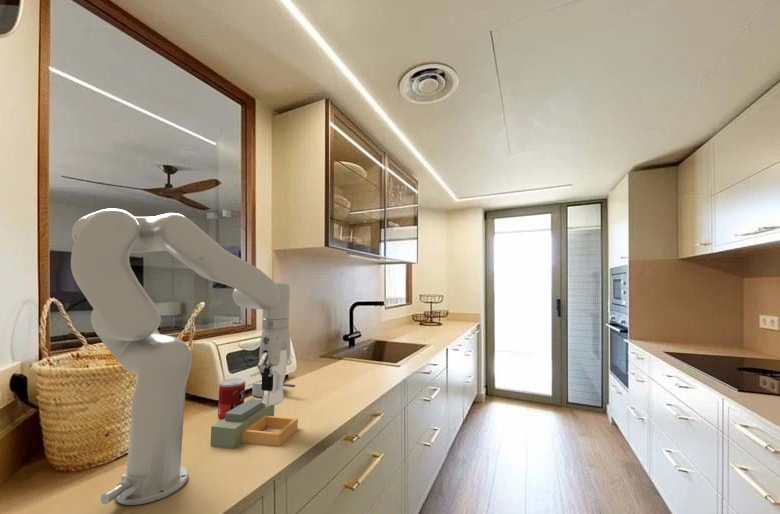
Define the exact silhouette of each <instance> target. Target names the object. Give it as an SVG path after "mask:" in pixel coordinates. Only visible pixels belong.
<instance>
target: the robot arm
mask: <svg viewBox="0 0 780 514" xmlns="http://www.w3.org/2000/svg"><path fill="white" fill-rule="evenodd" d="M71 238H72V240H73V242H74V244H73V247H72V250H71V254H70V255H71V257H70V268H71V274H72V276H73V278H74V281H75V282H76V285H77V286H78V288H79V290H80V291H81V293H82V294H83V296H84V297H85V299H86V300H87V301H88V303H89V305H90V306H91V307H92V311H91V314H90V323H91V326H92V329H93V331H94V332H95V334H96V336H98V338H99V339H100V340H101V342H102V343H103V344H104V346H105V347H106V348H107V349H108V351H109V352H110V353H111V355H112V356H113V357H114V358H115V359H116V361H117V362H118V363H119V364H120V365H121V367H123V368H124V370H126V371H128V372H130V373H131V374H133V375H135V376H137V381H136V386H135V389H134V391H133V392H134V393H133V396H132V401H131V411H130V423H129V425H130V427H129V439H128V449H127V450H128V452H127V464H126V473H123V474H122V475H121V478H120V481H119V483H117V484H116V486H115V487H112V488H111V489H110V490H108V491H106V492H104V493H103V494H102V495H101V496H100V502H101V503H102V504H103V505H108V504H109V503H111V502H112V501H114V500H116V502H117V503H119V504H122V505H124V506H125V505H127V506H136V505H137V506H138V505H143V504H144V505H145V504H149V503H152V502H153V503H154V502H156V501H158V500H162V499H164V498H166V497H168V496H170V495H172V494H174V493H175V492H177V491H178V490H179V489H181V488H182V487H183V486H184V485H185V484H186V482H187V481H188V479H189V471H188V469H187V468H186V467H185V466H183V465H181V464H182V449H183V437H184V436H183V434H184V418H185V417H184V416H185V403H186V402H185V401H186V399H185V398H186V390H187V389H186V388H187V383H188V377H189V374H190V369H191V366H192V352H191V350H190V347H189V345H188V344H187V343H186V342H185V341H183V339H180V338H179V337H175V336H171V335H167V334H161V333H160V331H159V330H158V328H159V327H160V325H161V322H162V321H161V320H162V319H161V313H160V310H159V308H158V307H157V305H156V304H155V302H154V301H153V299H151V297H150V296H149V294H148V293H147V292H146V290H145V288H144V287H143V286H142V284H141V282H139V280H138V278H137V276H136V274H135V272H134V270H133V269H132V267H131V263H130V255H131V254H133V253H135V254H136V253H151V252H164V251H165V252H167V253H169V254H170V255H172V256H173V257H175V259H177V260H178V261H180V262H181V263H183V264H184V265H185V266H186V267H188V268H189V269H190V270H192V271H194V272H195V273H196V274H198V275H199V276H200V277H201V278H204V279H206V280H209V281H212V282H216V283H218V284H223V285H225V286H228V287H231V288H233V291H232V299H233V302H234V303H235V304H236V306H238V307H241V308H243V309H250V310H251V309H253V310H262V316H261V317H262V321H261V322H262V323H261V331H262V332H261V337H260V343H259V353H258V355H259V356H258V359H259V362H258V364H257V367H256V368H257V369H258V371H259V372H260V377H262V386H261V389H262V390H264V391H272V390H273V376H272V372H273V366H277V365H279V363H280V351H281V350H284V349H286V353H287V362H288V361H289V360H290V358H291V335H290V327H289V326H290V298H291V297H290V296H291V295H290V294H291V293H290V292H291V287H290V284H289V283H286V282H274V281H273V280H272V279H271V278H270V277H269V276H268V275H267V274H266V273H265V272H263V270H261V269H259V268H258V267H256V265H253V264H252V263H250V262H248V261H245V260H243V259H242V258H240V257H238V256H237V255H235V254H233V253H231V252H229V251H227V250H226V249H224V247H222V245H220V244H219V243H217V241H215V240H214V239H213V238H212V237H210V235H208V234H207V233H206V232H205V231H204V230H202V228H200V227H199V226H198V225H196V223H194V222H193V221H192V220H191V219H190V218H188V217H186V216H185V215H183V214H180V213H175V212H168V213H164V214H159V215H156V216H134V215H133V214H131V213H130V212H128V211H127V210H124V209H120V208H105V209H100V210H98V211H94V212H92V213H89V214H87V215H85V216H81V217H80V218H79V219H78V220H76V221H75V223H74V224H73V225H72V228H71ZM267 359H268V361H269V363H270V365H268V364H265V363H266V361H267ZM265 367H270V368H269V371H268V369H267V368H265ZM284 383H285V384H286V377H285V378H284Z"/></svg>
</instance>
